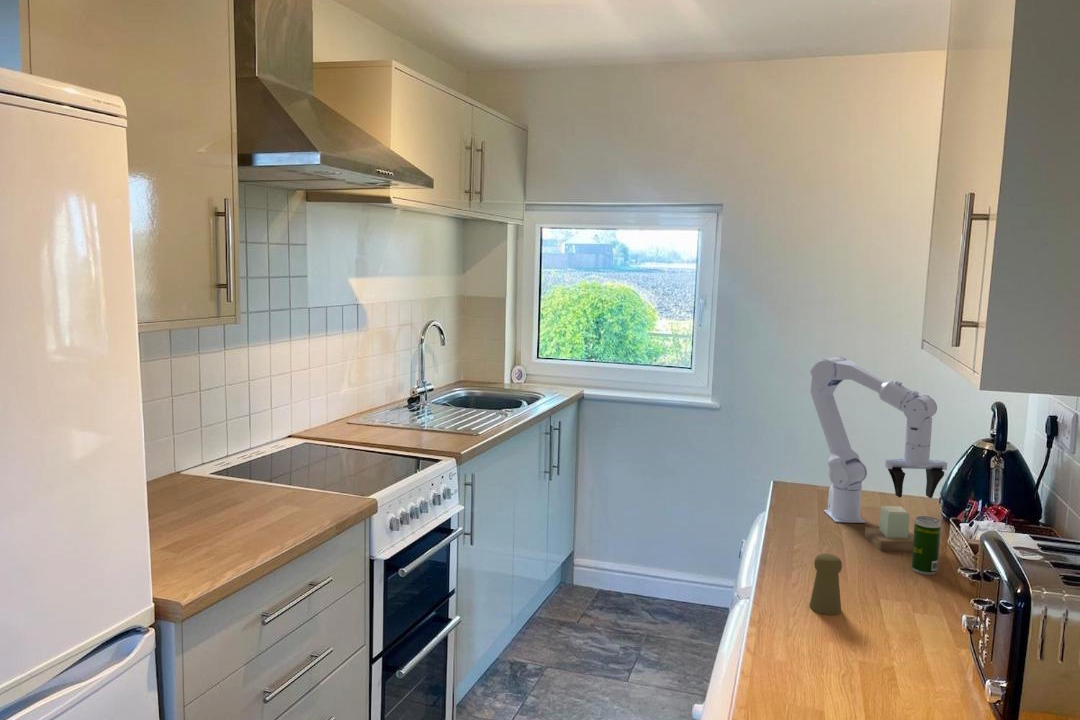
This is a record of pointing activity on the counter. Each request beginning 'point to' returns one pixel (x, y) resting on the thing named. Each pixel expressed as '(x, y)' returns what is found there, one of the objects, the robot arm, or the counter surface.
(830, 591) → the olive pepper mill
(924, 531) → the beer can
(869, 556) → the counter surface
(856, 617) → the counter surface
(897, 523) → the tea tin
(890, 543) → the walnut block
